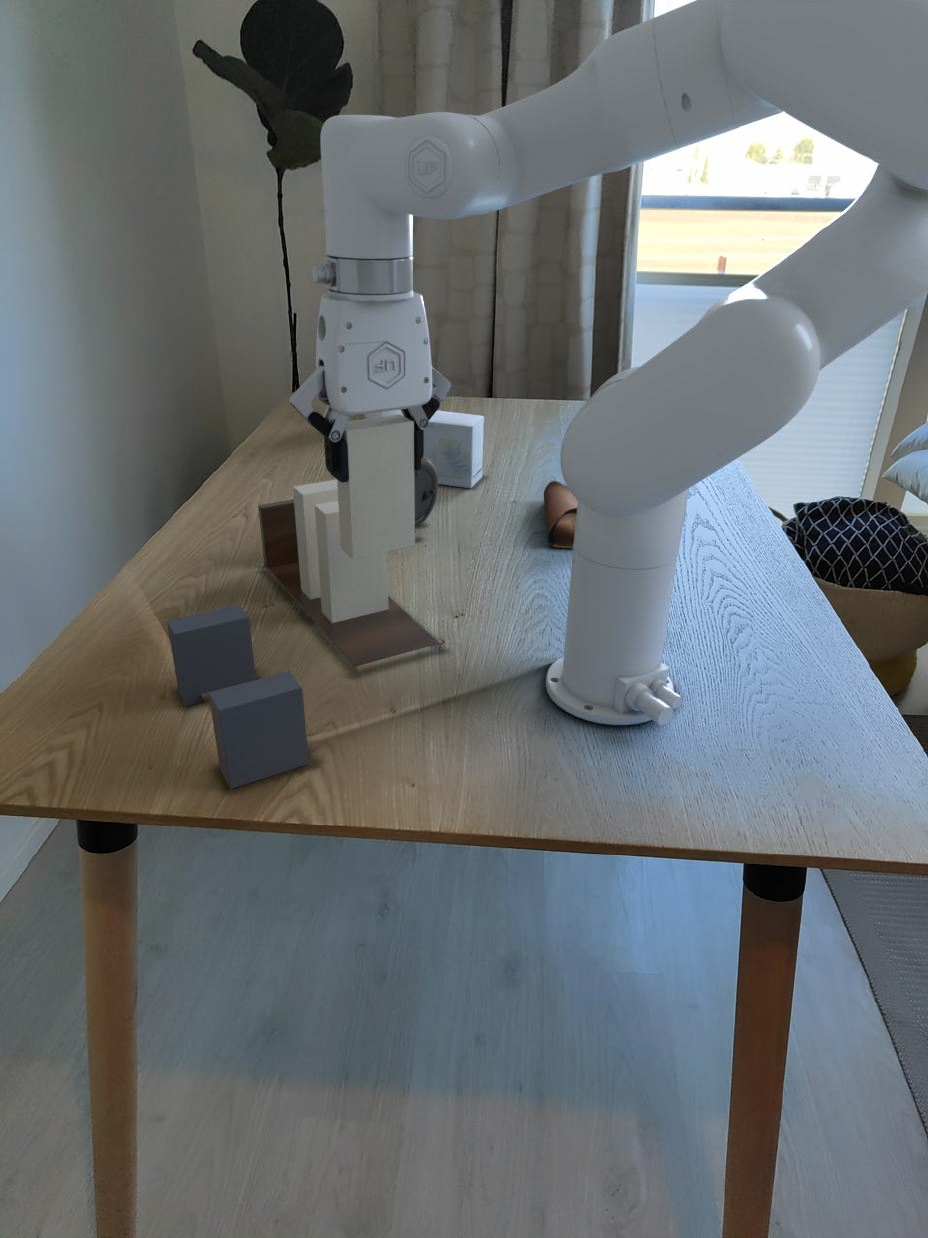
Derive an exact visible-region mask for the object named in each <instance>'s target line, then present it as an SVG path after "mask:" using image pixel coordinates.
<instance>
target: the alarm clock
mask: <svg viewBox="0 0 928 1238" xmlns="http://www.w3.org/2000/svg"><path fill="white" fill-rule="evenodd" d="M438 492H439V484H438V476H437V472H436V469H435V467H434V465H433V464H432V462H431V461H430V460H429V459H427V458H426V457H424V456H423V458H421V470H416V471H415V470H414V503H415V530H416V529H418V528H419V527H420V526H421V525H422V524H423V523H424V522H425V521H426V520H427V519H428V517H429V516H430V514H431V512H432V511H433V509H434V506H435V504H436V501H437V497H438ZM416 532H417V531H415V534H416Z"/></svg>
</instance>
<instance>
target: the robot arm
mask: <svg viewBox="0 0 928 1238" xmlns="http://www.w3.org/2000/svg"><path fill="white" fill-rule="evenodd" d="M784 113H785V114H786V115H788V116H789V117H792V118H793V119H795V120H797V121H798V122H800V123H802V124H804V125H806V126H807V127H809V128H811V129H812V130H814V131H817V132H818V133H820V134H822V135H824V136H825V137H827V138H829V139H831V140H833V141H834V142H835V143H838V144H840V145H842V146H843V147H846V148H848V149H849V150H851V151H853V152H855V153H857V154H859V155H861V156H863V157H865V158H866V159H868V160H870V161H872V162H873V163H875V165H876V166H875V168H874V171H873V173H872V176H871V178H870V180H869V181H868V183H867V185H866V186H865V187H864V189H863V191H862V192H861V193H860V194H859V195H858V196H857V198H856V199H855V200H854V201H853V202H852V203H851V204H850V205H849V206H848V207H847V208H846V209H845V210H843V211H842V212H840V213H839V214H838V215H837V216H836V217H834V218H833V219H832V220H831V221H829V222H828V223H827V224H825V225H824V226H822V227H821V228H820V229H819V230H817V231H816V232H815V233H814V234H813V235H812V236H810V237H809V238H808V239H807V240H806V241H804V242H803V243H802V244H801V245H800V246H798V247H797V248H795V249H794V250H792V251H791V252H790V253H788V254H787V255H786V256H784V257H783V258H782V259H780V260H779V261H777V262H776V263H775V264H774V265H772V266H771V267H769V268H768V269H767V270H765V271H764V272H762V273H760V274H759V275H758V276H757V277H754V278H753V279H752V280H751V281H749V282H748V283H746V284H745V285H743V286H741V287H740V288H738V289H736V290H735V291H733V292H731V293H729V294H726V295H725V296H723V297H722V298H721V299H719V300H718V301H716V302H715V303H714V304H713V305H711V306H710V308H709V309H708V310H707V311H706V312H705V313H704V314H703V315H702V317H701V318H700V319H699V321H698V322H697V323H696V324H695V325H693V326H692V327H691V328H690V329H689V330H687V331H686V332H685V333H683V334H681V336H679V337H678V338H677V339H675V340H674V341H673V342H671V343H670V344H668V345H667V346H666V347H665V348H664V349H662V350H661V351H659V352H658V353H657V354H655V355H654V356H652V357H651V358H649V360H647V361H646V362H645V363H643V364H642V365H641V366H634V367H631V368H627V369H624V370H622V371H620V372H617V373H616V374H614V375H612V376H611V377H610V378H608V379H607V380H606V381H605V382H604V383H602V384H601V385H600V387H598V388H597V389H596V390H595V391H594V393H593V394H592V395H591V396H590V397H589V398H588V399H587V401H586V402H585V404H584V405H582V407H581V408H580V409H579V410H578V412H576V414H575V415H574V417H573V418H572V419H571V421H570V423H569V424H568V427H567V428H566V431H565V432H564V436H563V438H562V441H561V447H560V468H561V469H560V470H561V475H562V478H563V481H564V483H565V485H566V486H567V487H568V489H569V490H570V492H571V493H572V495H573V496H574V497H575V498H576V499H577V500H578V507H577V515H576V524H575V535H574V543H573V549H572V553H571V554H572V555H571V566H570V577H569V578H570V579H569V590H568V601H567V602H568V603H567V611H566V626H565V635H564V636H565V637H564V647H563V656H562V657H560V658H558V659H556V660H555V661H554V662H553V663H552V664H551V665H550V666H549V668H548V669H547V672H546V676H545V677H546V678H545V688H546V692H547V694H548V696H549V698H550V700H552V702H554V703H555V705H556V706H558V707H559V708H560V709H561V710H563V711H565V712H566V713H568V714H570V715H572V716H574V717H576V718H579V719H582V720H584V721H588V722H591V723H596V724H599V725H600V724H601V725H608V726H631V725H639V724H643V723H648V722H649V721H650V722H651V721H653V722H654V723H655V724H657V725H658V726H660V727H664V726H666V725H668V724H669V723H670V722H671V721H672V720H673V716H674V713H675V712H674V710H677V709H679V708H680V707H681V706H682V704H683V702H684V698H683V697H682V696H681V695H680V694H678V693H677V692H675V688H674V682H673V681H672V678H671V677H670V676H669V671H670V667H669V666H668V665H666V664H664V663H663V656H664V648H665V642H666V637H667V636H666V635H667V630H668V622H669V615H670V609H671V603H672V598H673V597H672V596H673V590H674V582H675V576H676V570H677V563H678V557H679V554H680V547H681V540H682V534H683V527H684V521H685V520H684V519H685V515H686V508H687V503H688V497H689V492H690V489H691V488H692V487H693V486H695V485H697V484H699V483H700V482H702V481H703V480H705V479H706V478H708V477H710V476H711V475H713V474H714V473H717V472H718V471H720V470H721V469H722V468H724V467H726V466H728V465H729V464H730V463H733V462H734V461H735V460H738V458H740V457H742V456H744V455H745V454H747V453H748V452H750V451H751V450H753V449H754V448H757V446H759V445H760V444H762V443H764V442H765V441H767V440H768V439H770V438H771V437H772V436H774V435H775V434H776V433H778V432H779V431H780V430H782V429H783V428H784V427H785V426H786V425H787V424H789V423H790V422H791V421H792V420H793V419H794V418H795V417H796V416H797V415H798V414H799V412H801V410H802V409H803V408H804V407H805V405H806V403H808V400H809V399H810V397H811V395H812V393H813V391H814V389H815V387H816V384H817V381H818V379H819V378H818V377H819V375H820V371H821V370H823V369H824V368H825V367H827V366H828V365H830V364H831V363H832V362H834V361H835V360H837V359H838V358H839V357H841V356H842V355H844V354H845V353H846V352H848V351H849V350H851V349H852V348H854V347H855V346H858V345H859V344H860V343H861V342H863V341H865V340H866V339H867V338H869V337H870V336H871V335H872V334H874V333H876V332H877V331H878V330H879V329H881V328H882V327H884V326H886V324H888V323H889V322H891V321H892V320H894V319H895V318H897V317H898V316H900V315H901V314H903V313H904V312H905V311H907V310H908V309H909V308H911V307H912V306H914V305H915V304H916V303H918V302H919V301H920V300H921V299H922V298H923V297H925V296H926V295H927V294H928V0H694V1H691V2H689V3H686V4H684V5H680V6H678V7H677V8H675V9H672V10H669V11H667V12H665V13H663V14H660V15H658V16H654V17H652V18H650V19H648V20H647V19H646V20H645V21H643V22H641V23H638V24H635V25H632V26H631V27H628V28H625V29H623V30H621V31H618V32H616V33H613V34H612V35H610V36H609V37H607V38H605V39H604V40H602V42H600V43H599V44H598V45H597V46H596V47H595V48H594V49H593V50H592V51H591V52H590V53H589V54H588V55H587V57H586V58H585V59H584V61H583V62H582V63H581V64H580V65H579V67H577V68H576V69H575V70H574V71H573V72H572V73H570V74H568V75H567V76H566V77H564V78H563V79H561V80H559V81H558V82H557V83H554V84H552V85H551V86H549V87H547V88H544V89H542V90H541V91H538V92H536V93H533V94H531V95H530V96H527V97H524V98H522V99H519V100H517V101H515V102H512V103H509V104H507V105H504V106H502V107H499V108H497V109H495V110H491V111H489V112H486V113H482V114H479V115H476V114H467V113H459V112H451V111H433V112H426V113H420V114H414V115H408V116H402V117H394V116H388V115H375V114H338V115H333V116H331V117H329V118H327V119H326V120H325V121H324V123H323V124H322V127H321V130H320V136H319V137H320V140H319V141H320V162H321V182H322V184H321V185H322V204H323V221H324V223H323V224H324V235H325V236H324V239H325V240H324V241H325V254H326V255H324V256H323V263H322V264H320V265H314V266H312V268H311V277H312V280H313V282H314V283H315V284H321V283H322V284H323V285H325V288H326V289H327V293H323V294H321V297H320V303H319V311H318V317H317V318H318V319H317V329H316V341H315V342H316V343H315V344H316V345H315V370H314V371H313V372H312V373H311V375H309V377H308V378H306V380H305V381H304V382H303V383H301V385H300V386H299V387H298V388H297V389H296V390H295V391H294V392H293V394H291V395H290V397H289V398H288V399H289V401H288V402H289V404H290V406H292V407H293V409H294V410H295V411H297V412H298V414H299V415H300V416H301V417H302V418H303V419H304V421H306V423H309V425H310V426H311V427H313V428H314V429H315V430H316V431H318V433H320V434H321V435H322V436H323V443H324V445H323V446H324V461H325V462H324V463H325V468H326V471H328V473H330V475H331V476H332V477H333V478H335V480H336V479H337V480H339V481H340V482H341V483H343V482H347V481H348V480H349V463H348V444H347V442H346V441H344V440H343V436H342V435H343V433H344V430H345V428H346V425H347V423H348V421H350V418H351V416H360V415H364V414H369V413H377V412H385V411H393V410H401V412H402V414H403V416H404V417H406V418H408V419H410V420H411V421H413V422H414V470H415V471H416V470H421V458H423V456H424V430H425V429H426V428H427V427H428V426H429V420H430V419H431V418H432V416H433V415H434V414H435V412H436V411H439V408H440V407H441V403H442V402H443V401H444V399H445V398H446V396H447V395H448V394H449V392H450V390H451V389H452V382H451V381H450V380H449V379H448V378H447V377H445V376H444V375H443V374H442V373H441V372H440V371H438V370H437V369H436V368H435V367H433V365H432V353H431V341H430V332H429V326H428V319H427V313H426V309H425V303H424V298H423V295H422V294H421V293H419V292H415V291H414V255H413V254H414V249H413V248H414V245H413V244H414V242H413V241H414V238H413V236H414V235H413V233H414V231H413V229H414V227H413V226H414V225H413V224H414V222H413V221H414V219H413V216H415V217H419V218H422V219H423V218H424V219H429V220H435V221H450V220H457V219H463V218H467V217H473V216H481V215H486V214H490V213H493V212H497V211H500V210H502V209H506V208H509V207H511V206H513V205H517V204H520V203H521V202H525V201H528V200H531V199H534V198H537V197H539V196H542V195H545V194H548V193H551V192H554V191H556V190H559V189H561V188H565V187H568V186H571V185H573V184H576V183H579V182H581V181H584V180H586V179H590V178H592V177H595V176H600V175H603V174H609V173H615V172H619V171H623V170H625V169H627V168H629V167H632V166H635V165H639V164H641V163H643V162H646V161H650V160H652V159H655V158H658V157H661V156H663V155H666V154H669V153H672V152H674V151H678V150H680V149H682V148H685V147H688V146H691V145H694V144H696V143H699V142H703V141H706V140H708V139H711V138H714V137H717V136H720V135H722V134H725V133H728V132H731V131H734V130H738V129H741V128H744V127H747V126H749V125H752V124H756V123H758V122H761V121H765V120H766V119H767V120H768V119H770V118H773V117H775V116H779V115H781V114H784ZM316 397H318V400H319V401H320V402H321V403H323V404H324V405H326V408H325V411H324V413H323V415H322V414H320V412H319V411H317V409H316V408H315V406H314V405H313V401H314V399H316Z"/></svg>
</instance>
